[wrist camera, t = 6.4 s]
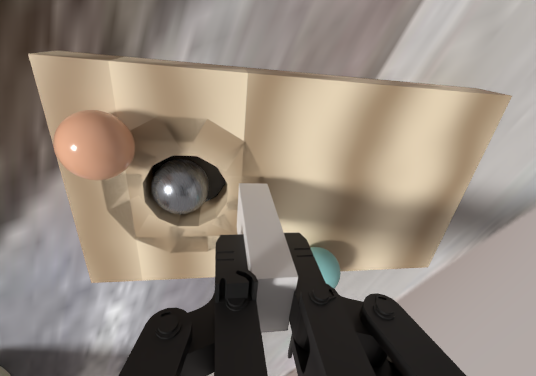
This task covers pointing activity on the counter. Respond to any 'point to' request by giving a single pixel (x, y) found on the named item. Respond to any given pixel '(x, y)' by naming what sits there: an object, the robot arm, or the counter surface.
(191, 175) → the steel ball
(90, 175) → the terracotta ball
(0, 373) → the reusable coffee cup
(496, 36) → the counter surface
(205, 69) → the maple board
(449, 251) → the counter surface
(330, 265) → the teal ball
